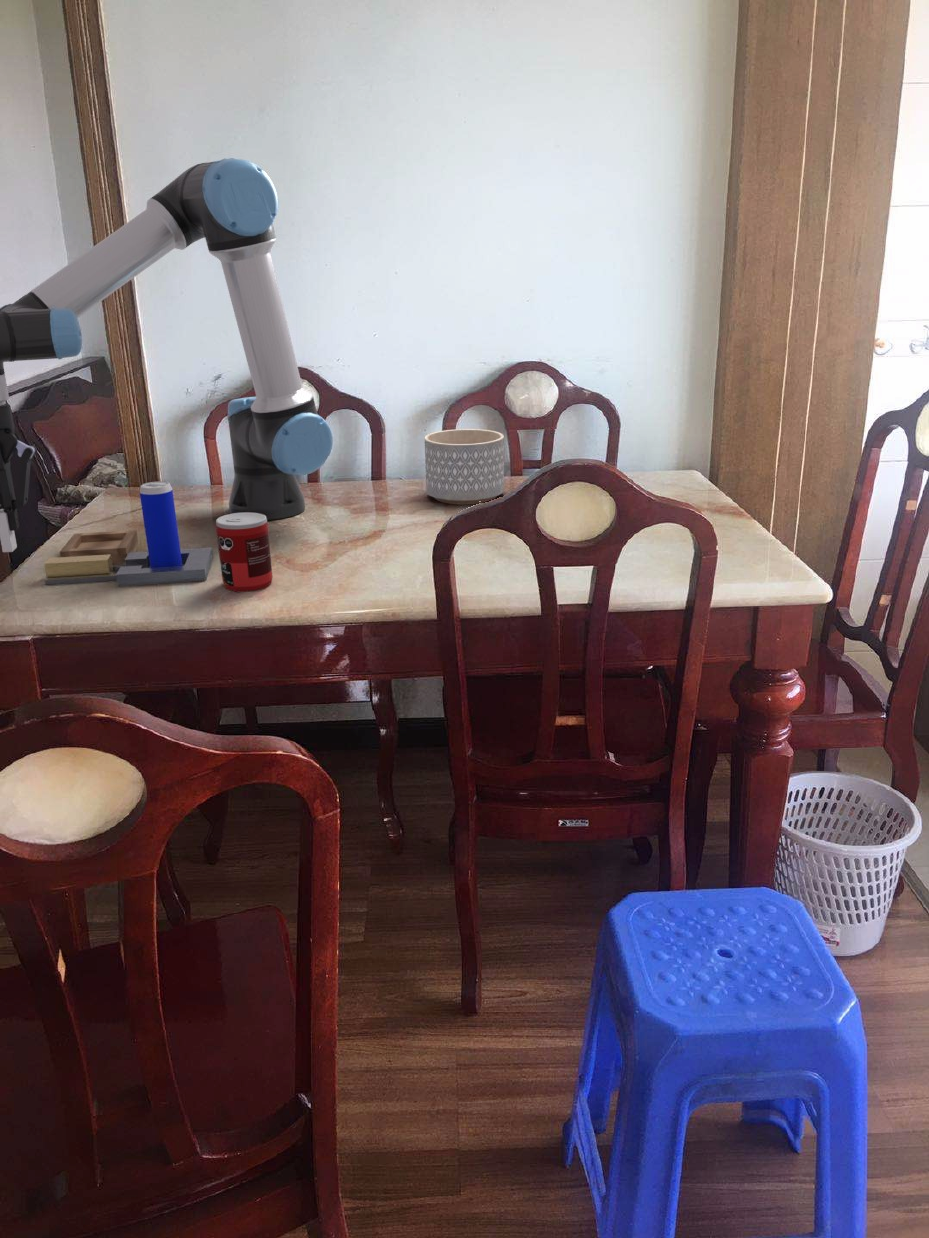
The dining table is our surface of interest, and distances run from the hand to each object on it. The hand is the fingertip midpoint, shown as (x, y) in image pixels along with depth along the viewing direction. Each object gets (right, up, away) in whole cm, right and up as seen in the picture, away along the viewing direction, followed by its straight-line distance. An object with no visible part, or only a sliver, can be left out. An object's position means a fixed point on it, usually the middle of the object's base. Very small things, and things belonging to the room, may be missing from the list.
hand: (9, 549), depth 163 cm
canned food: (+39, -6, -2) cm, 40 cm away
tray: (+10, 0, +15) cm, 18 cm away
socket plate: (+18, -4, +4) cm, 19 cm away
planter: (+74, +14, +48) cm, 90 cm away
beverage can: (+24, -4, +5) cm, 25 cm away
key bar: (+10, -4, +3) cm, 12 cm away
